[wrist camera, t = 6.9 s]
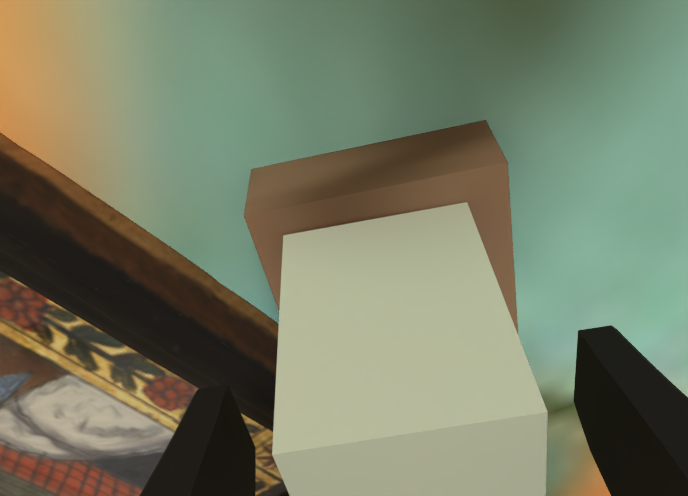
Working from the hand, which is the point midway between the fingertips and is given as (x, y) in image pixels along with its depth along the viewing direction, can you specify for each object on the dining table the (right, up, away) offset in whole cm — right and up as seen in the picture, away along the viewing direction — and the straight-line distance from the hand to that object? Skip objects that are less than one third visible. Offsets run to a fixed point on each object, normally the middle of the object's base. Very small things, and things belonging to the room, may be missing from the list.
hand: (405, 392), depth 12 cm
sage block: (0, +2, +2) cm, 3 cm away
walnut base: (0, +3, +4) cm, 5 cm away
